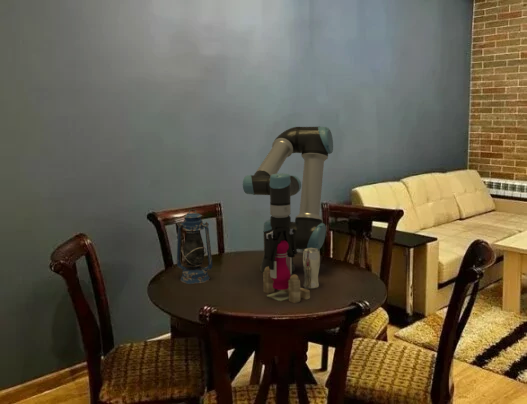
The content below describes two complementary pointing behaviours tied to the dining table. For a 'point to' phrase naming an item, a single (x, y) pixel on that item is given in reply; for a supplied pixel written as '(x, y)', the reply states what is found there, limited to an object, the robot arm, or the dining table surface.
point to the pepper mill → (281, 267)
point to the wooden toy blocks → (291, 293)
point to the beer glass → (311, 267)
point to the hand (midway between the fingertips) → (281, 275)
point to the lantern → (193, 249)
